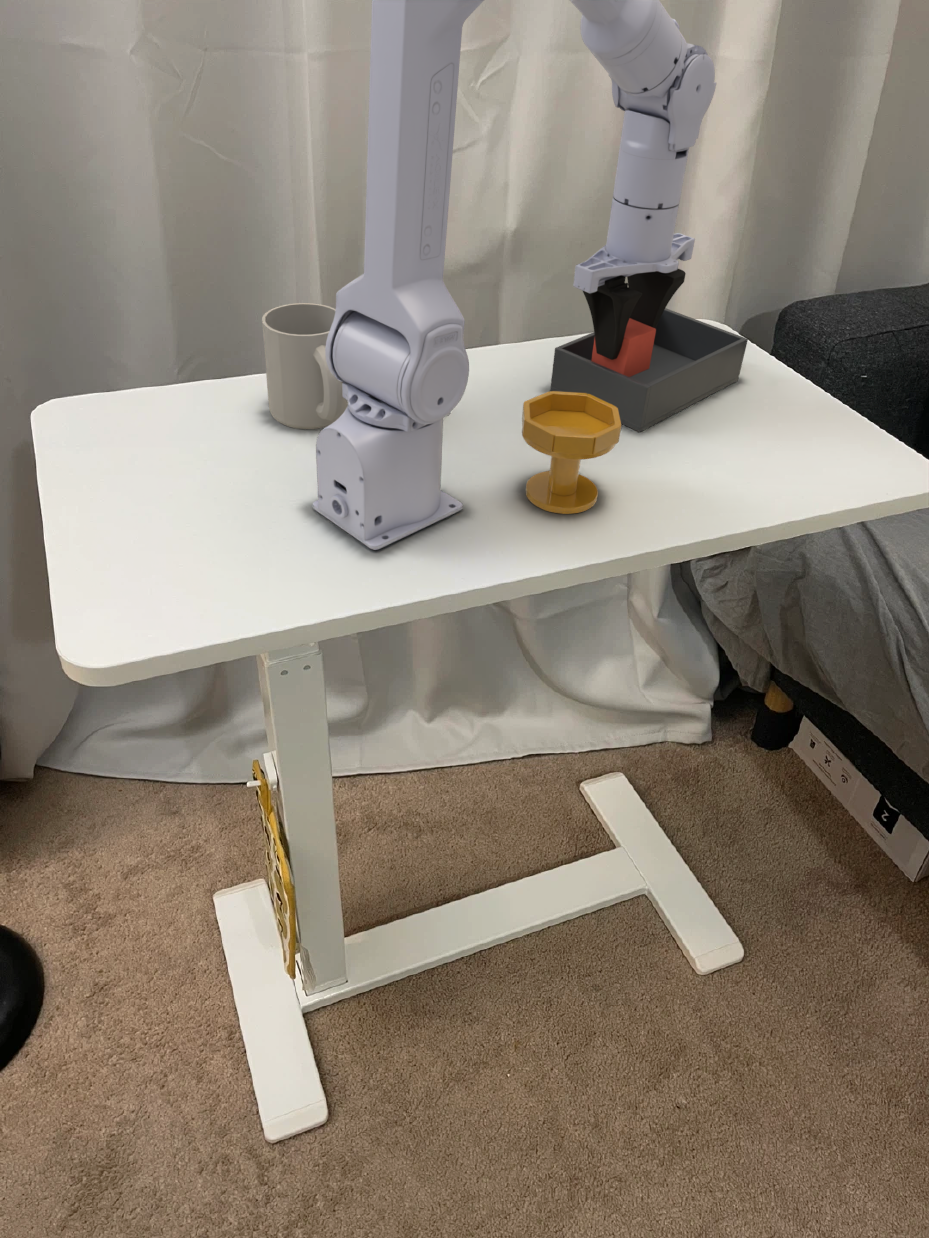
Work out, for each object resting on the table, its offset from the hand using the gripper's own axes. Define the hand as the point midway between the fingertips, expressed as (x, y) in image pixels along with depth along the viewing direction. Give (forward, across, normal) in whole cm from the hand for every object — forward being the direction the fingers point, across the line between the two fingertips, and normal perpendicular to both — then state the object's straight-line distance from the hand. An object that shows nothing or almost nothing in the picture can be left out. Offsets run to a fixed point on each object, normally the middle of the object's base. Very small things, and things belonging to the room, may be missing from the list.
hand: (622, 349), depth 94 cm
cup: (+6, -25, +15) cm, 30 cm away
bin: (+5, +5, 0) cm, 8 cm away
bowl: (+5, -17, -8) cm, 20 cm away
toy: (+2, 0, 0) cm, 2 cm away
